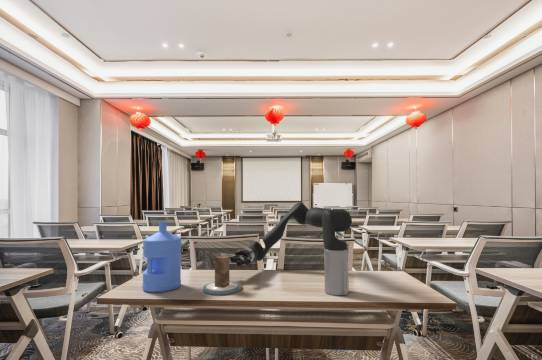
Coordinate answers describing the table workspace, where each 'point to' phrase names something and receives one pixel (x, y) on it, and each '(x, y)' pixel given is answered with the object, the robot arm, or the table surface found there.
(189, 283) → the table surface
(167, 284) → the water jug
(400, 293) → the table surface
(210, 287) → the teal dish
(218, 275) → the walnut block
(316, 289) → the table surface
